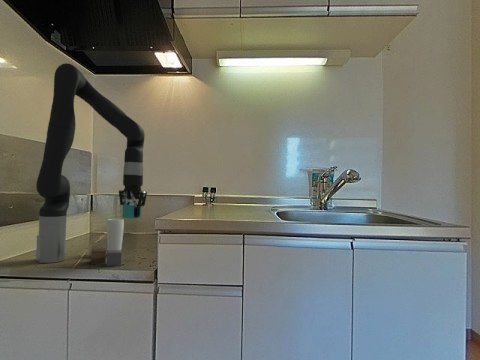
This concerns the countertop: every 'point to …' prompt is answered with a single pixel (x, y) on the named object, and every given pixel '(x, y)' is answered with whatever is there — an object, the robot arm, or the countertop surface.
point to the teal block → (129, 212)
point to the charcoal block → (113, 258)
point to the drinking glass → (115, 233)
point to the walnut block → (98, 256)
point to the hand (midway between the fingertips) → (131, 216)
